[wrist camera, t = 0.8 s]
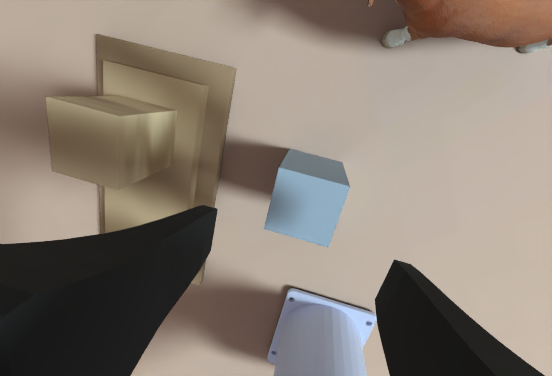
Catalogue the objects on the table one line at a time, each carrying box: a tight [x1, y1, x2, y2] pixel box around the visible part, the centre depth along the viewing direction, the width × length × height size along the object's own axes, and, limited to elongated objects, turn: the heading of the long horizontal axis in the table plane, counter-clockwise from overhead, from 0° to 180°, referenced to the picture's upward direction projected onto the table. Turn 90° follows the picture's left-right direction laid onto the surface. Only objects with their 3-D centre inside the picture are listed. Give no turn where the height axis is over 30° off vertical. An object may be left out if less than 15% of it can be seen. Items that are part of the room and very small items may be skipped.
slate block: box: [264, 149, 350, 247], centre depth 18 cm, size 4×4×6 cm
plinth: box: [96, 34, 236, 286], centre depth 21 cm, size 19×10×2 cm, turn 167°
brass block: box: [45, 96, 177, 190], centre depth 16 cm, size 4×4×6 cm
